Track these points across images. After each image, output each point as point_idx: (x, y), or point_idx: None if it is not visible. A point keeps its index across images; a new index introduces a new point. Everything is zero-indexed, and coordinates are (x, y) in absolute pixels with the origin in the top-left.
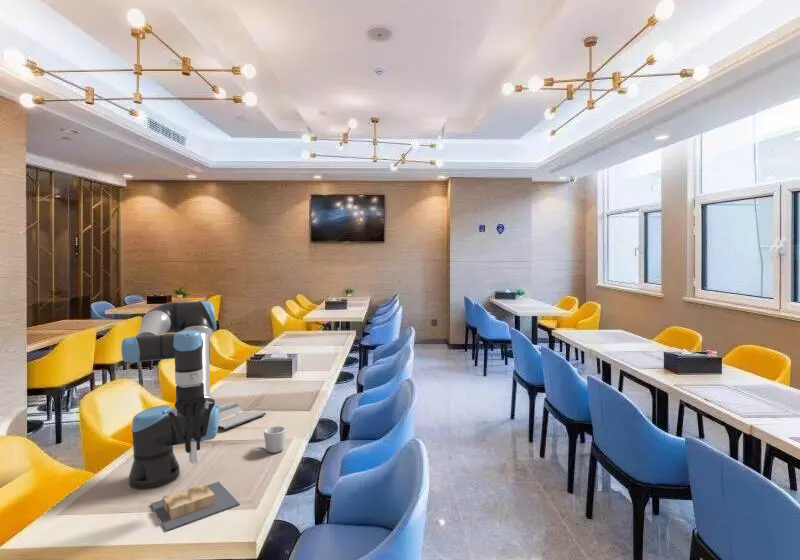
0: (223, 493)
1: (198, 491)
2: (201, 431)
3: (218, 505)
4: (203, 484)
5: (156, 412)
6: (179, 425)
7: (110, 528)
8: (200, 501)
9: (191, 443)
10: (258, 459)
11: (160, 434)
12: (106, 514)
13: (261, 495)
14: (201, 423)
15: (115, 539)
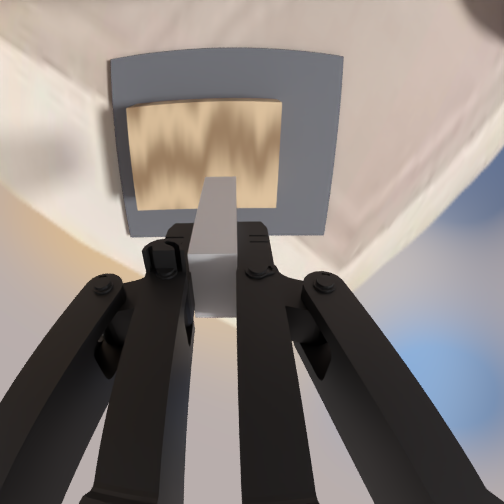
0: (319, 148)
1: (240, 149)
2: (314, 319)
3: (276, 207)
4: (274, 107)
5: None
6: (77, 462)
7: (24, 137)
8: None
9: (199, 311)
10: (482, 29)
11: None
12: (19, 56)
13: (384, 224)
14: (352, 367)
15: (37, 195)
